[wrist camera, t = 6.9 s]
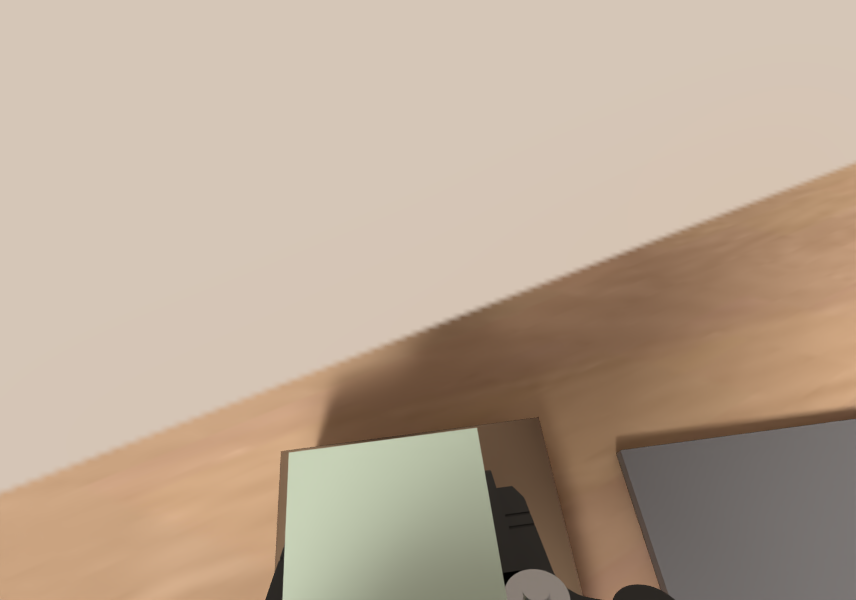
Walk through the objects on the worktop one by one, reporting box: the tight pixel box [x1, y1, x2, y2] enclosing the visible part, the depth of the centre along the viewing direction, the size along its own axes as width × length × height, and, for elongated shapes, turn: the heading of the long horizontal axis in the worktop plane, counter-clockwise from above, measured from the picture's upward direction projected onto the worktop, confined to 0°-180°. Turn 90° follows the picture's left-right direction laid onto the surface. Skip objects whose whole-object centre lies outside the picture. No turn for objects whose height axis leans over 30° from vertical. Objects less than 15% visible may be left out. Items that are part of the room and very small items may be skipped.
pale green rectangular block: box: [282, 428, 507, 600], centre depth 11 cm, size 4×5×9 cm
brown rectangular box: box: [275, 417, 583, 596], centre depth 16 cm, size 10×10×4 cm
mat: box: [616, 419, 856, 600], centre depth 18 cm, size 12×10×1 cm
